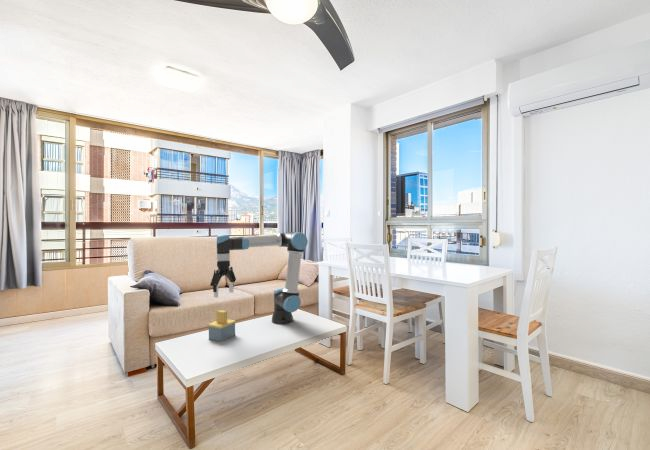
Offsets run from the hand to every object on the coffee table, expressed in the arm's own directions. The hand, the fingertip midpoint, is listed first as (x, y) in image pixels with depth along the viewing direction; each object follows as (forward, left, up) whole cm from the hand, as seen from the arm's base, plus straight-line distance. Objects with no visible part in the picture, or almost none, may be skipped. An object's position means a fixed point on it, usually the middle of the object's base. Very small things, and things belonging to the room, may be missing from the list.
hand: (223, 294), depth 190 cm
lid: (-1, -3, -19) cm, 19 cm away
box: (-1, -3, -27) cm, 27 cm away
